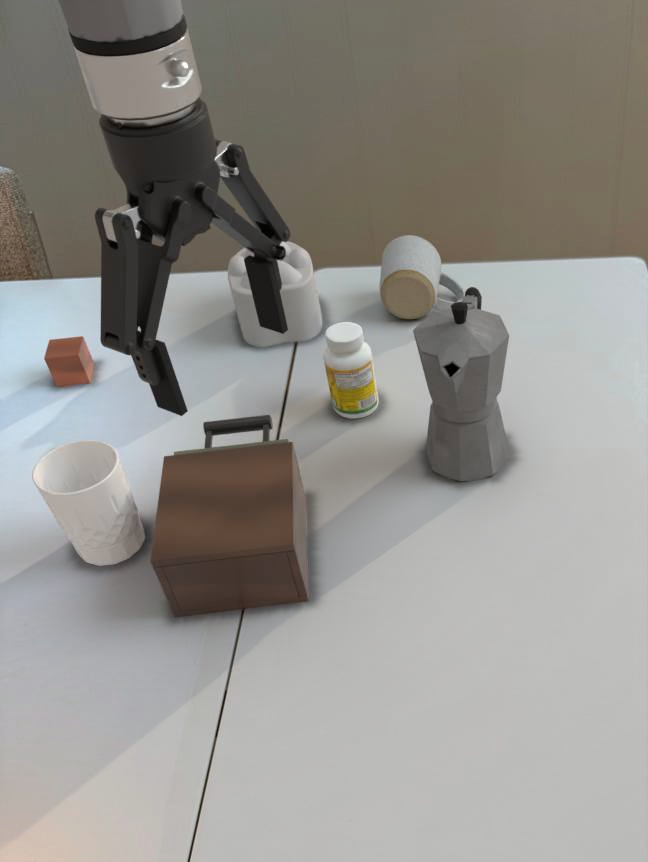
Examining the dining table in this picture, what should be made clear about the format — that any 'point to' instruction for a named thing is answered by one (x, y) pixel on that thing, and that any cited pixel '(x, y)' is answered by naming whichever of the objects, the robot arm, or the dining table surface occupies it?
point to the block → (69, 361)
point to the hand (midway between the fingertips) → (225, 367)
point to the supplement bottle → (350, 371)
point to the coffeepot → (464, 388)
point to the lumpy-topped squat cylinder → (294, 294)
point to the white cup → (91, 500)
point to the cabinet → (231, 530)
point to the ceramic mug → (414, 278)
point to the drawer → (236, 427)
